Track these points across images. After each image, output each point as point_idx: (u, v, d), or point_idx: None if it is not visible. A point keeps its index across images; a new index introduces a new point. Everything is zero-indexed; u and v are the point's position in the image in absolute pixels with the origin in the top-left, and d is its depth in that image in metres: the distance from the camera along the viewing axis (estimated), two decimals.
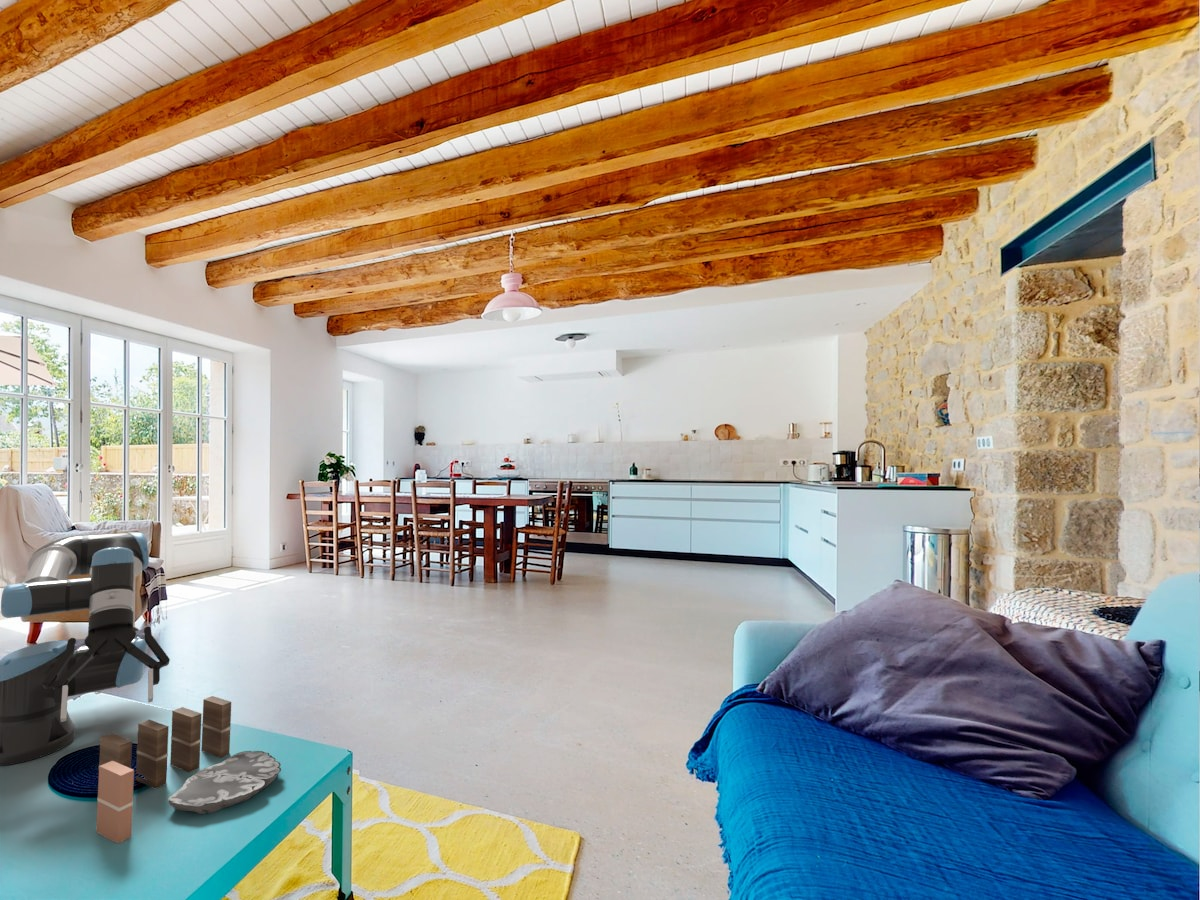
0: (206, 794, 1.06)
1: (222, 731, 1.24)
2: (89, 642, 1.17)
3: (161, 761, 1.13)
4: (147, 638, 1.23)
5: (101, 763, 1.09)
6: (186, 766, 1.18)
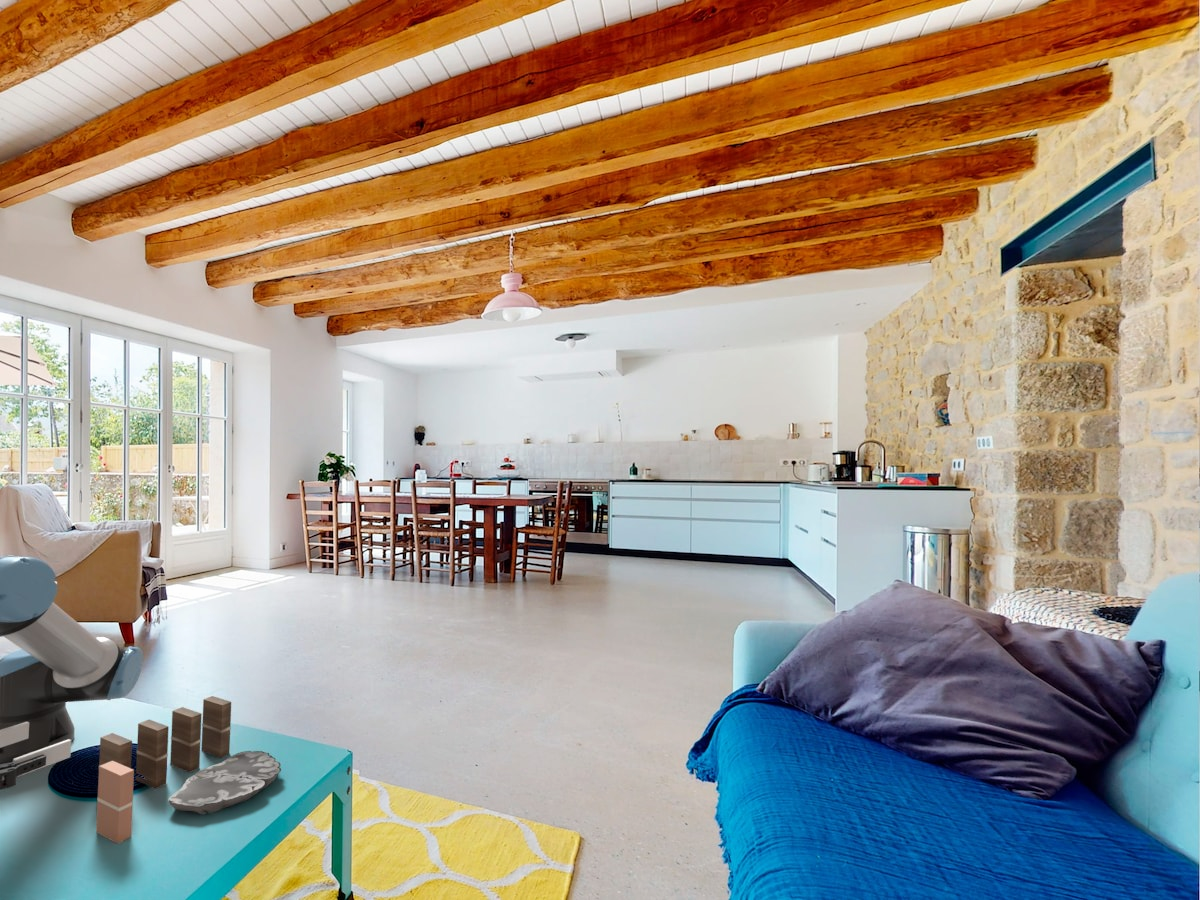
0: (206, 794, 1.06)
1: (222, 731, 1.24)
2: None
3: (161, 761, 1.13)
4: None
5: (101, 763, 1.09)
6: (186, 766, 1.18)
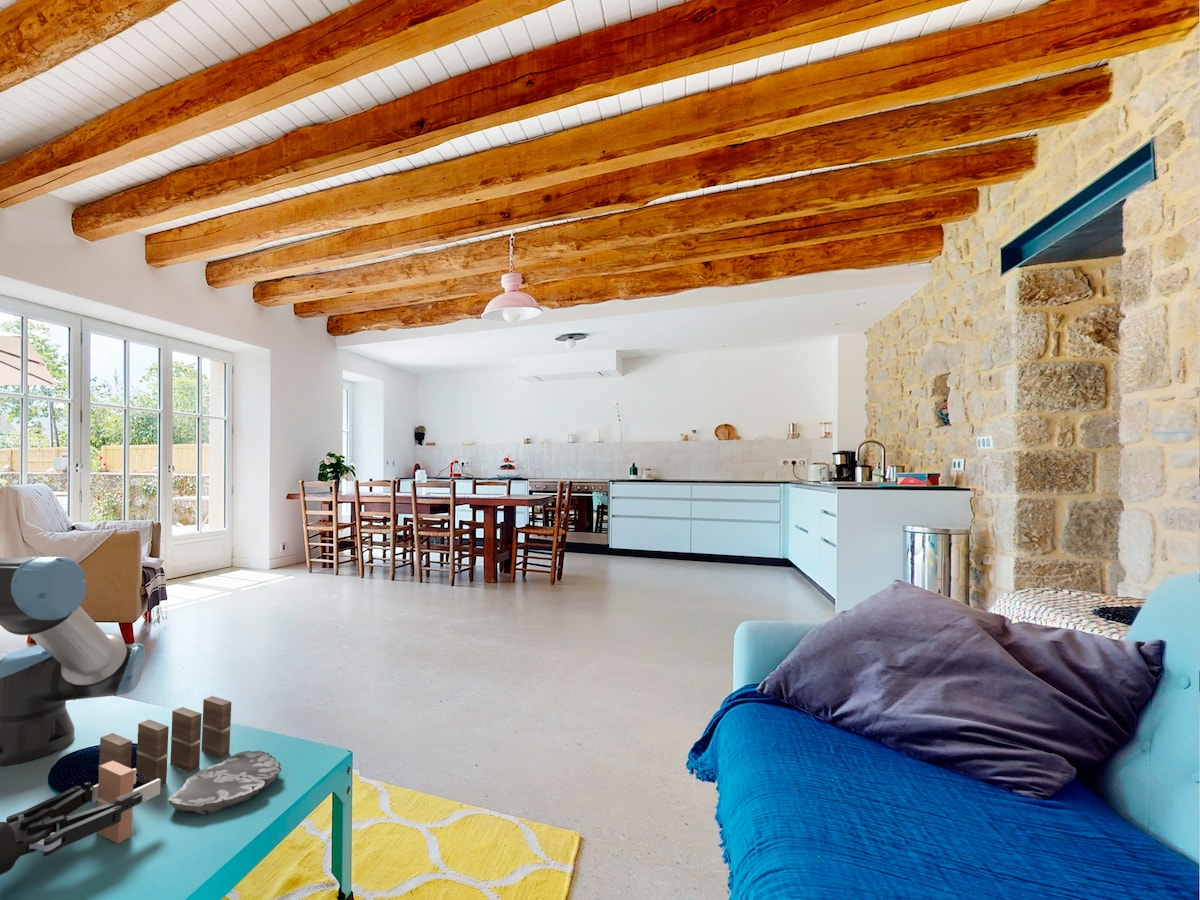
0: (206, 794, 1.06)
1: (222, 731, 1.24)
2: None
3: (161, 761, 1.13)
4: None
5: (101, 763, 1.09)
6: (186, 766, 1.18)
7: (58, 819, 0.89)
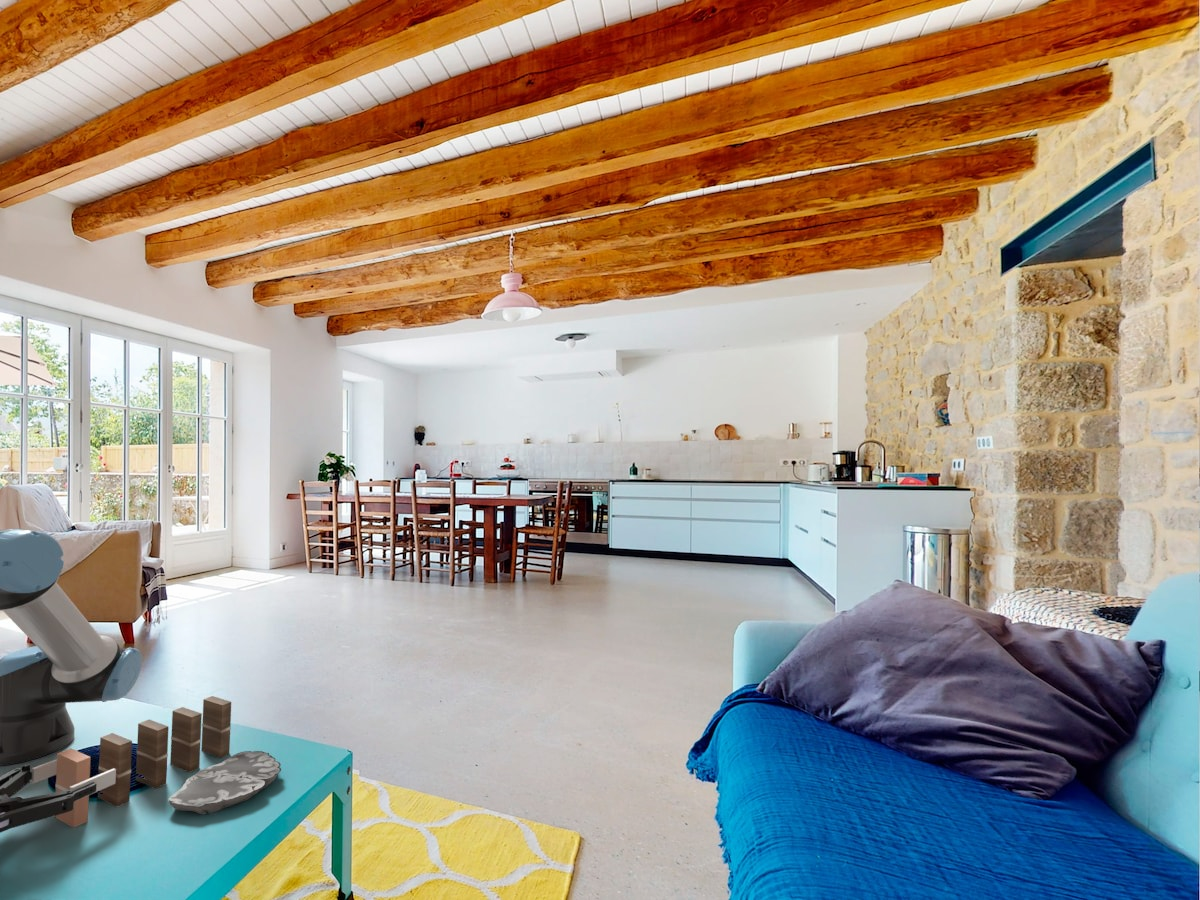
0: (206, 794, 1.06)
1: (222, 731, 1.24)
2: None
3: (161, 761, 1.13)
4: None
5: (101, 763, 1.09)
6: (186, 766, 1.18)
7: (12, 800, 0.92)
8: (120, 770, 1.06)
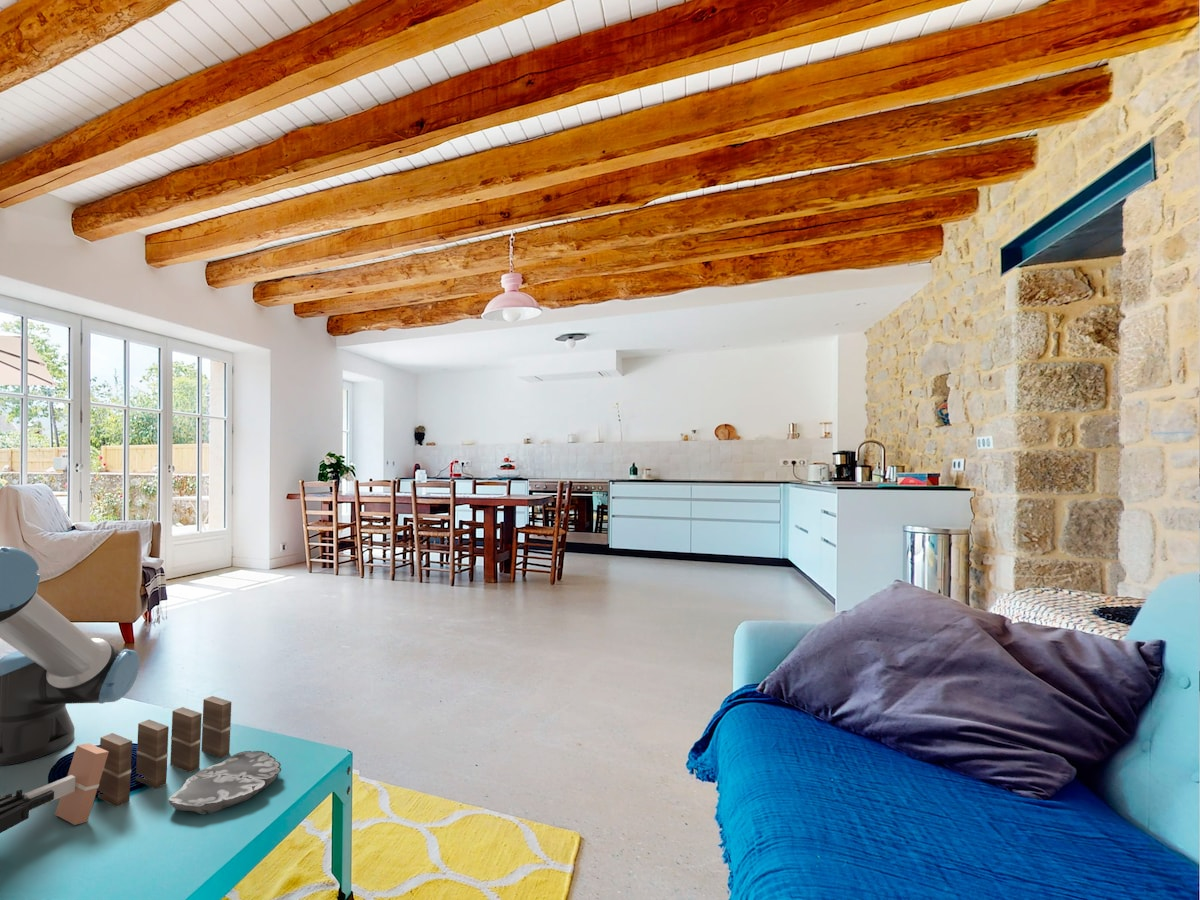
0: (206, 794, 1.06)
1: (222, 731, 1.24)
2: None
3: (161, 761, 1.13)
4: None
5: None
6: (186, 766, 1.18)
7: None
8: (120, 770, 1.06)
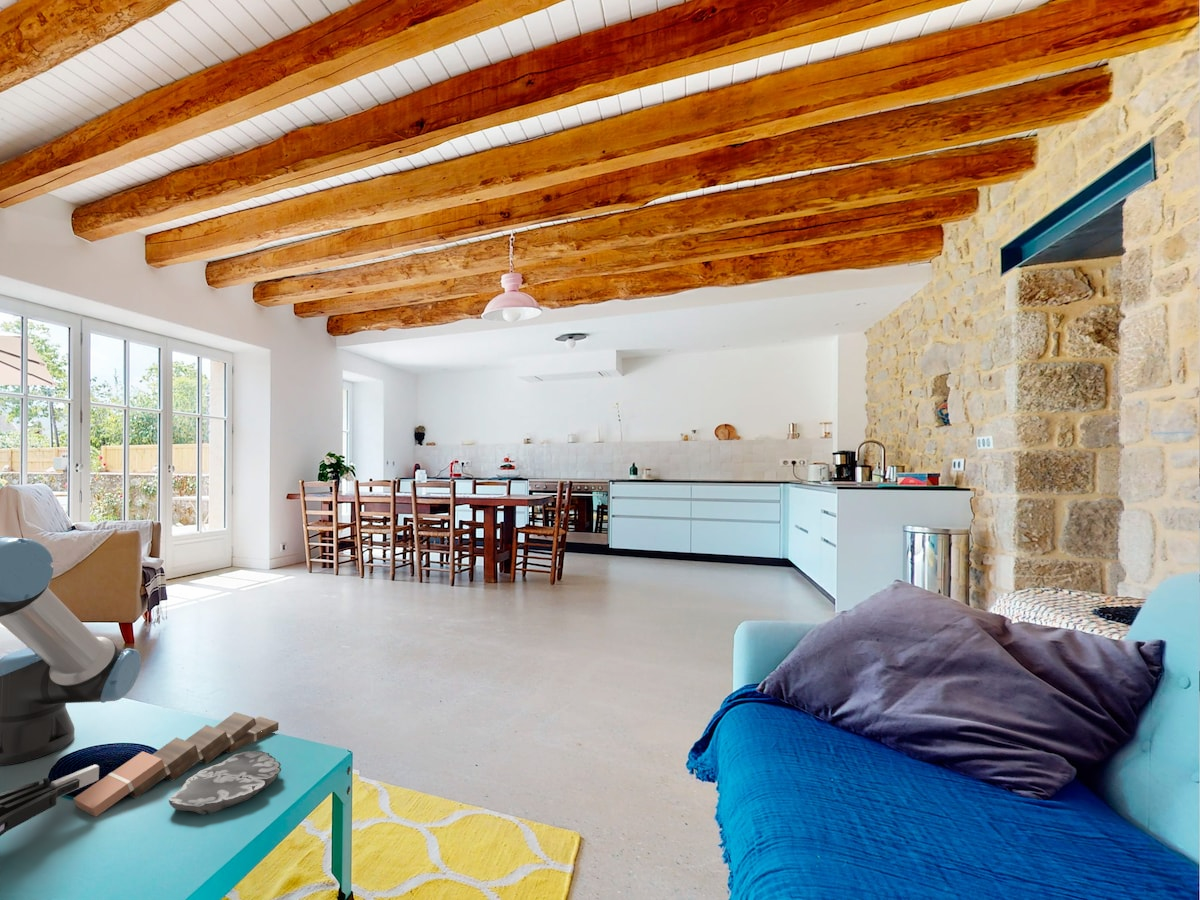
0: (206, 794, 1.06)
1: (255, 734, 1.31)
2: None
3: (196, 757, 1.19)
4: None
5: (153, 755, 1.17)
6: None
7: None
8: (171, 763, 1.14)
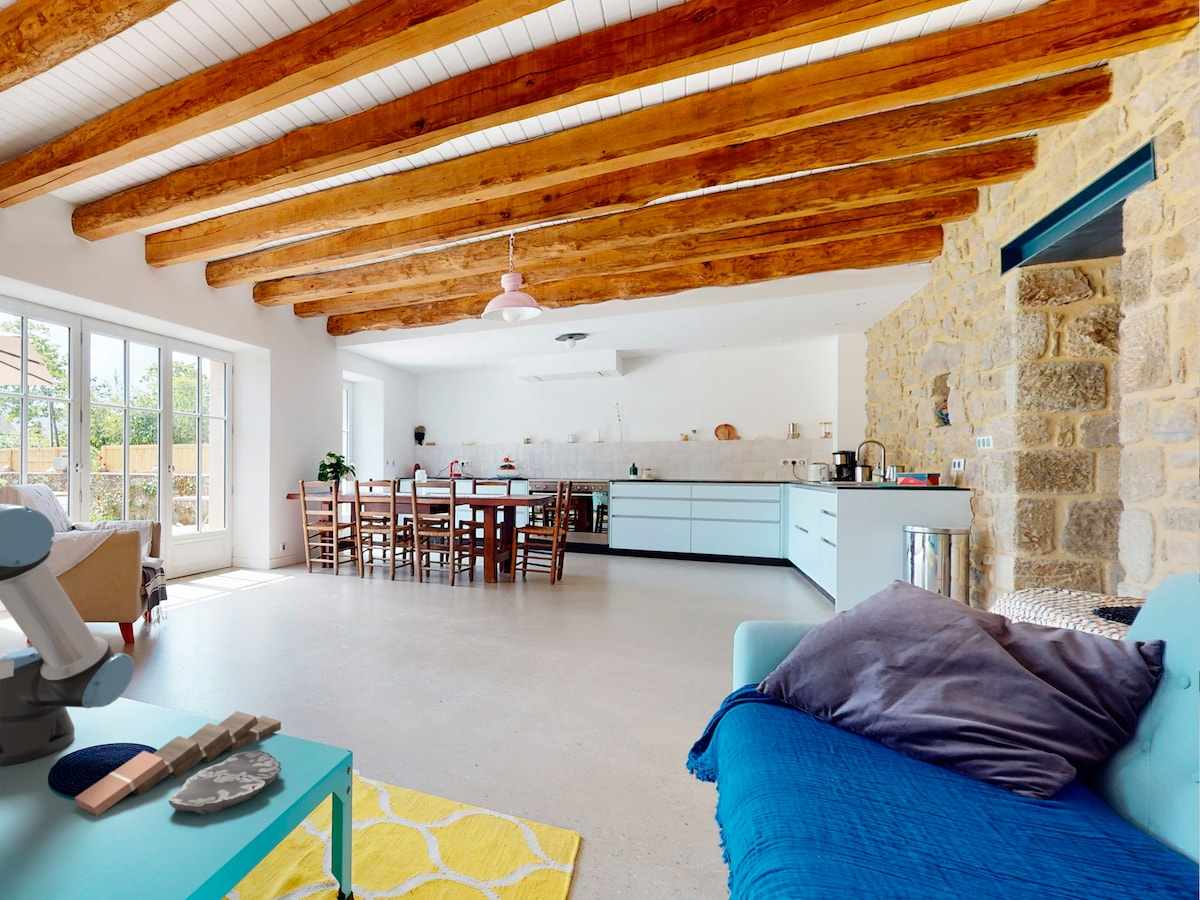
0: (206, 794, 1.06)
1: (257, 733, 1.32)
2: None
3: (199, 755, 1.20)
4: None
5: (156, 753, 1.18)
6: None
7: None
8: (174, 761, 1.15)
